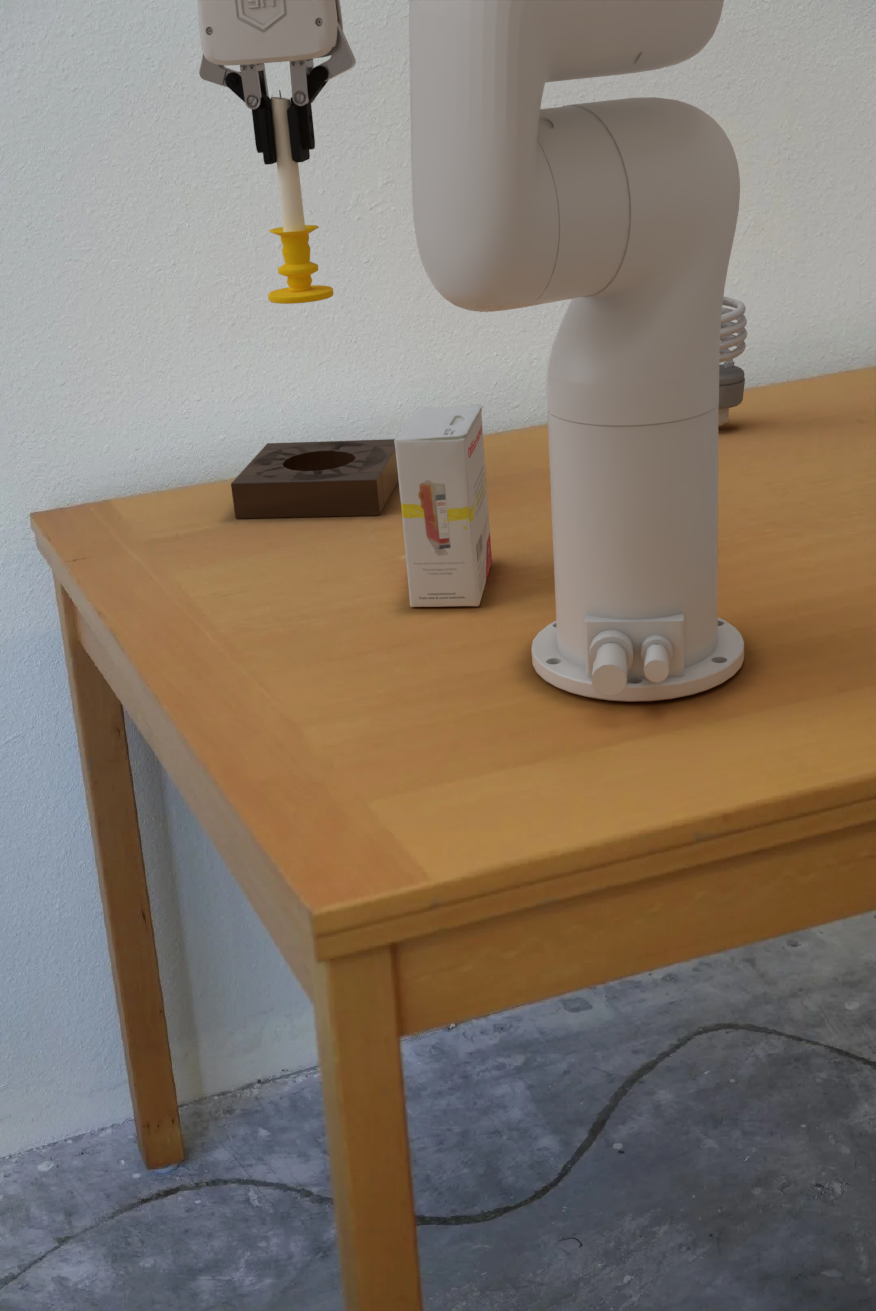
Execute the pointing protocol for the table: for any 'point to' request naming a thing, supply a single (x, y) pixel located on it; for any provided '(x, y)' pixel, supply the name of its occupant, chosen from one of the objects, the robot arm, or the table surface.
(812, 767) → the table surface
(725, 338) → the light bulb
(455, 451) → the ink box
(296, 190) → the candle
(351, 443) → the holder
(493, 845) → the table surface
